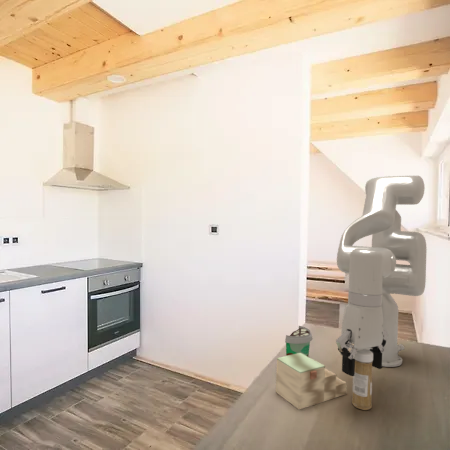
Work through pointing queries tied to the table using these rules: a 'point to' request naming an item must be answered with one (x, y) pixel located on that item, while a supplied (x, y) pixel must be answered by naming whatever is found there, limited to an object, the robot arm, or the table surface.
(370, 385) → the spice jar
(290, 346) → the food container
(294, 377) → the step stand
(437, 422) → the table surface
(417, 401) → the table surface
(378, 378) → the table surface
